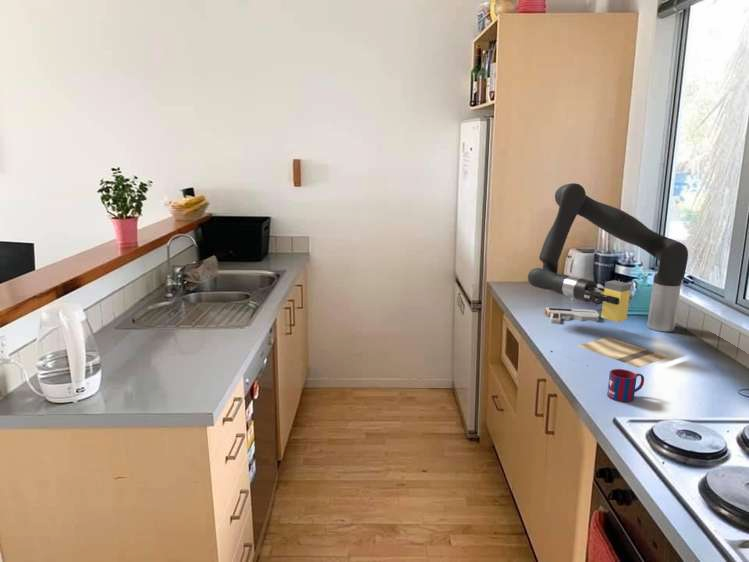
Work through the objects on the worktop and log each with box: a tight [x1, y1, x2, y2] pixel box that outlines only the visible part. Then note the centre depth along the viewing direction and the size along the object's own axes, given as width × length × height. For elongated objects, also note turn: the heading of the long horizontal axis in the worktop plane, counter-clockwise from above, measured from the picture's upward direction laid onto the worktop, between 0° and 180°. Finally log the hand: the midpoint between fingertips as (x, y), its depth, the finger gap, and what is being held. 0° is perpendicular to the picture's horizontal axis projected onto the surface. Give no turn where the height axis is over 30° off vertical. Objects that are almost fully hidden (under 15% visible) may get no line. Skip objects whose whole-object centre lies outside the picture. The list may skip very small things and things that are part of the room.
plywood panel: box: [577, 336, 669, 368], centre depth 191 cm, size 17×22×1 cm
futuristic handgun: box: [544, 307, 600, 325], centre depth 229 cm, size 3×20×15 cm
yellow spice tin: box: [600, 279, 632, 323], centre depth 192 cm, size 5×6×12 cm
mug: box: [606, 368, 645, 403], centre depth 159 cm, size 7×10×7 cm
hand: (623, 300), depth 189 cm, fingers closed on yellow spice tin, 5 cm apart
